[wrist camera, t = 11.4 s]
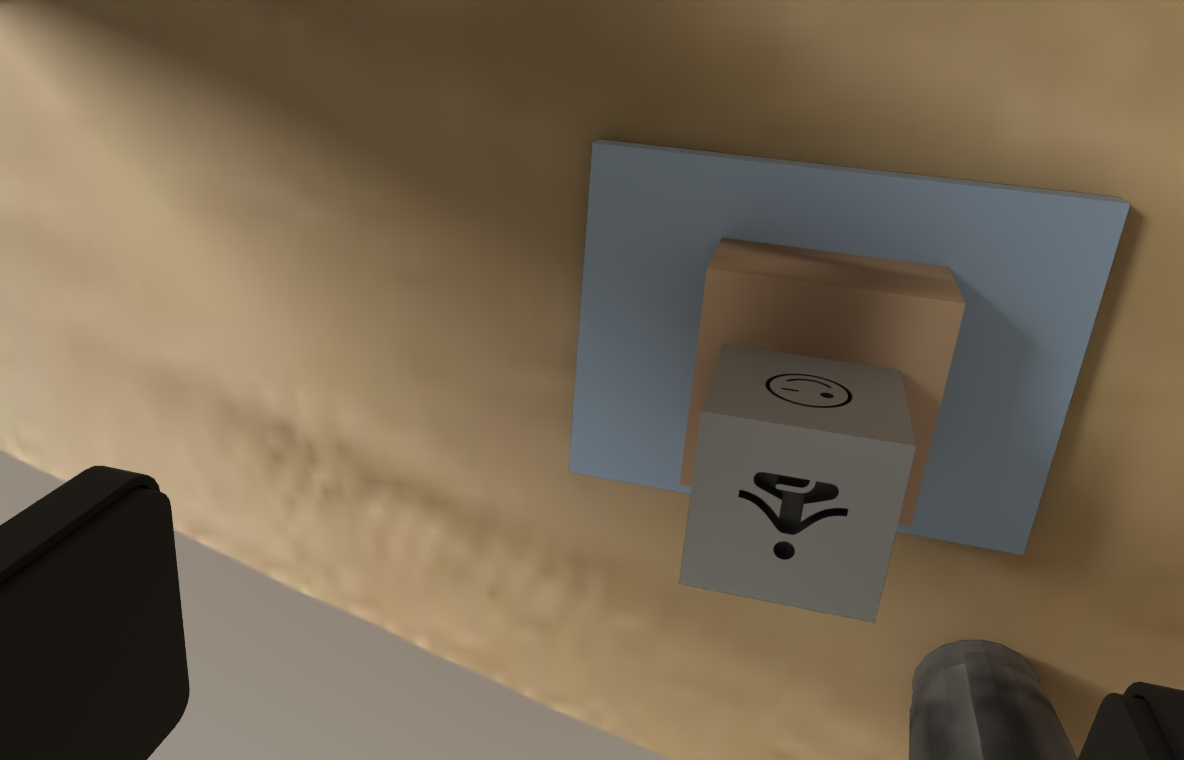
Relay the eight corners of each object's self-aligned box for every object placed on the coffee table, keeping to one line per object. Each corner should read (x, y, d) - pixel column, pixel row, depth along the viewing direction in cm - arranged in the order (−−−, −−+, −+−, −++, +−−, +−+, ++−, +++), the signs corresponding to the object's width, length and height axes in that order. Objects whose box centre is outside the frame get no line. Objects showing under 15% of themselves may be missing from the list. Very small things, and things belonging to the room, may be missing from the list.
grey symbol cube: (900, 370, 26) (915, 446, 21) (867, 523, 28) (874, 622, 23) (722, 343, 27) (701, 411, 22) (702, 493, 29) (678, 583, 24)
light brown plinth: (696, 431, 32) (679, 484, 29) (722, 237, 30) (707, 268, 26) (901, 467, 31) (911, 526, 27) (948, 266, 28) (965, 303, 25)
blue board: (575, 460, 35) (568, 471, 34) (599, 139, 30) (592, 142, 29) (1017, 540, 32) (1023, 555, 31) (1120, 197, 27) (1130, 203, 26)
